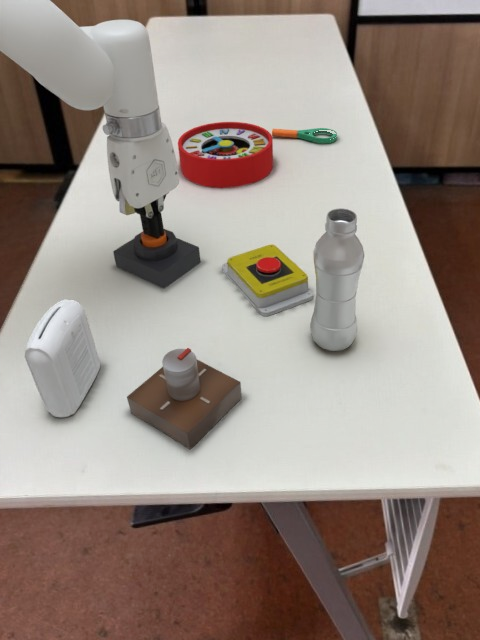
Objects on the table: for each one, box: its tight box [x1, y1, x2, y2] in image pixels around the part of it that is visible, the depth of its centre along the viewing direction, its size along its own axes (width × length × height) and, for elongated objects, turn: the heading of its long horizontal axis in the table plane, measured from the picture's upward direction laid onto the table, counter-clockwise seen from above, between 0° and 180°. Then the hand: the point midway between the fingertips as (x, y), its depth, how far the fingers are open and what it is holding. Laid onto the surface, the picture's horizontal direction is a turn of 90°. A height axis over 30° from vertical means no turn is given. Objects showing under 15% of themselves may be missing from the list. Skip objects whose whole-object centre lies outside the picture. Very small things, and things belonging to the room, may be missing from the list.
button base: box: [112, 228, 202, 289], centre depth 95 cm, size 11×9×5 cm
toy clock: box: [177, 121, 274, 189], centre depth 122 cm, size 20×6×20 cm
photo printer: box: [24, 298, 101, 418], centre depth 71 cm, size 10×4×12 cm, turn 170°
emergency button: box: [221, 244, 314, 317], centre depth 91 cm, size 9×4×15 cm
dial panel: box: [126, 358, 243, 450], centre depth 72 cm, size 10×10×3 cm
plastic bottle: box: [309, 208, 365, 352], centre depth 75 cm, size 6×7×20 cm
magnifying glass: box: [271, 127, 338, 144], centre depth 134 cm, size 15×6×2 cm, turn 81°
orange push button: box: [141, 231, 167, 247], centre depth 93 cm, size 4×4×2 cm
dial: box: [161, 347, 200, 401], centre depth 69 cm, size 4×4×5 cm
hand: (154, 234), depth 93 cm, fingers closed
